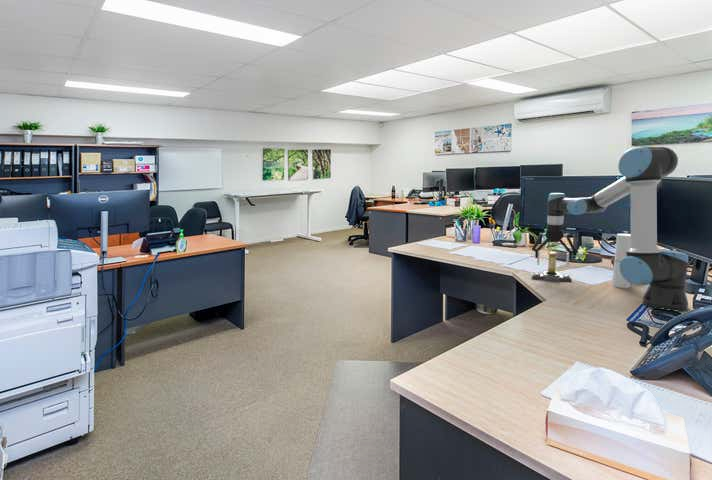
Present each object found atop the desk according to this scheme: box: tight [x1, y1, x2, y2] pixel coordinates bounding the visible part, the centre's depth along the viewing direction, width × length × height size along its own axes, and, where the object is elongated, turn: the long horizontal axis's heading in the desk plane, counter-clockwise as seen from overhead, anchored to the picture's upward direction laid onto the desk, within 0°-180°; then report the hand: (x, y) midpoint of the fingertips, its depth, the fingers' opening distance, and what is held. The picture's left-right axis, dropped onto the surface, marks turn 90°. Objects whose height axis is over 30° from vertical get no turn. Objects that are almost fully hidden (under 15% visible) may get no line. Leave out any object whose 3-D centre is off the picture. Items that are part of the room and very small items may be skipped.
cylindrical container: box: [611, 233, 631, 289], centre depth 197 cm, size 7×7×25 cm
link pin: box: [547, 251, 558, 275], centre depth 212 cm, size 4×4×14 cm
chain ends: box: [531, 270, 572, 283], centre depth 213 cm, size 18×7×3 cm, turn 70°
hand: (552, 265), depth 211 cm, fingers open, 13 cm apart
